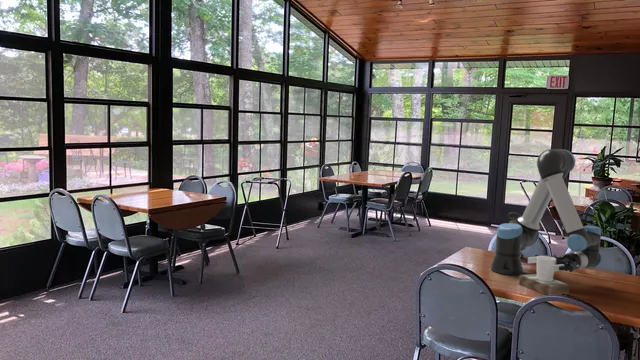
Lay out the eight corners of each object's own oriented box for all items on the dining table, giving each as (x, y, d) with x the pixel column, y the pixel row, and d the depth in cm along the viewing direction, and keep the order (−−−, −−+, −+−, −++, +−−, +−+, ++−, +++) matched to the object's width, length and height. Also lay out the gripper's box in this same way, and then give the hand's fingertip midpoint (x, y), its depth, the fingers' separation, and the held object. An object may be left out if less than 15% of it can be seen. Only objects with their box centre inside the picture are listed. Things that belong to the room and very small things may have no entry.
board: (518, 284, 238) (519, 274, 238) (536, 281, 243) (537, 273, 242) (550, 296, 222) (551, 286, 221) (569, 294, 226) (569, 284, 226)
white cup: (556, 283, 227) (558, 260, 226) (537, 281, 229) (539, 259, 228) (551, 277, 235) (553, 256, 234) (533, 276, 236) (535, 254, 235)
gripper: (597, 276, 227) (562, 280, 219) (551, 261, 250) (518, 265, 242) (599, 259, 227) (564, 263, 218) (553, 246, 249) (519, 249, 241)
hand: (540, 264), depth 230 cm, fingers open, 13 cm apart
